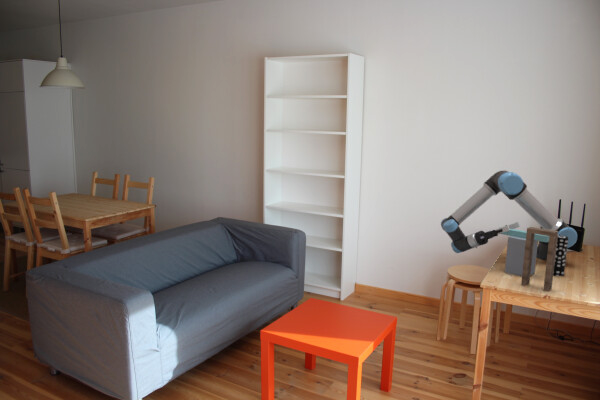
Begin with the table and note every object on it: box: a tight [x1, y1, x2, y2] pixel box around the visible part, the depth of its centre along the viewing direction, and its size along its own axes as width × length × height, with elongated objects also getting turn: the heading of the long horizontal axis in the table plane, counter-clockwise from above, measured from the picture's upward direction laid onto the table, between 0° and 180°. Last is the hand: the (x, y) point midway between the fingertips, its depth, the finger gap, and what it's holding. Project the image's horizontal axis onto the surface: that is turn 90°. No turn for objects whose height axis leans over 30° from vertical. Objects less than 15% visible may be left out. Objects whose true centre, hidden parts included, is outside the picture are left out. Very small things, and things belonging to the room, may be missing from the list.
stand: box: [520, 226, 558, 292], centre depth 220 cm, size 5×12×28 cm, turn 45°
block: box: [504, 236, 539, 277], centre depth 243 cm, size 11×11×19 cm
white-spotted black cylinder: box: [553, 235, 568, 277], centre depth 242 cm, size 8×8×20 cm
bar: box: [500, 226, 549, 242], centre depth 241 cm, size 4×24×3 cm, turn 45°
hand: (514, 225), depth 244 cm, fingers open, 13 cm apart
